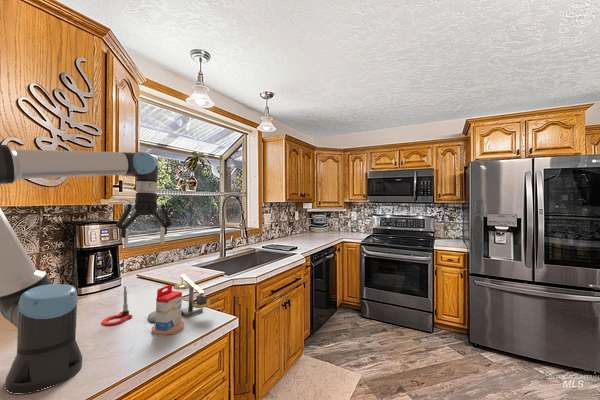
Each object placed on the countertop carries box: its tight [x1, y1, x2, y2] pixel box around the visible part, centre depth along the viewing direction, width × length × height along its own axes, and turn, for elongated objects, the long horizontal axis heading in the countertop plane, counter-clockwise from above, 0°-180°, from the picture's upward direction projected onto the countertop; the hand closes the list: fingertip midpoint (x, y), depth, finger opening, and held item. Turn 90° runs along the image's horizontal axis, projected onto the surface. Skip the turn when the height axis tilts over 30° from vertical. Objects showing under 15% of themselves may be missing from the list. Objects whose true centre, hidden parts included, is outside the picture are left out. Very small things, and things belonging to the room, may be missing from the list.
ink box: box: [154, 283, 183, 331], centre depth 100 cm, size 8×5×15 cm, turn 168°
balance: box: [173, 274, 211, 318], centre depth 115 cm, size 8×24×15 cm, turn 50°
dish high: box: [147, 310, 156, 324], centre depth 110 cm, size 11×11×1 cm
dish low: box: [151, 319, 185, 337], centre depth 100 cm, size 11×11×1 cm
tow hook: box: [101, 285, 133, 327], centre depth 105 cm, size 8×13×9 cm
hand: (144, 244), depth 107 cm, fingers open, 13 cm apart
